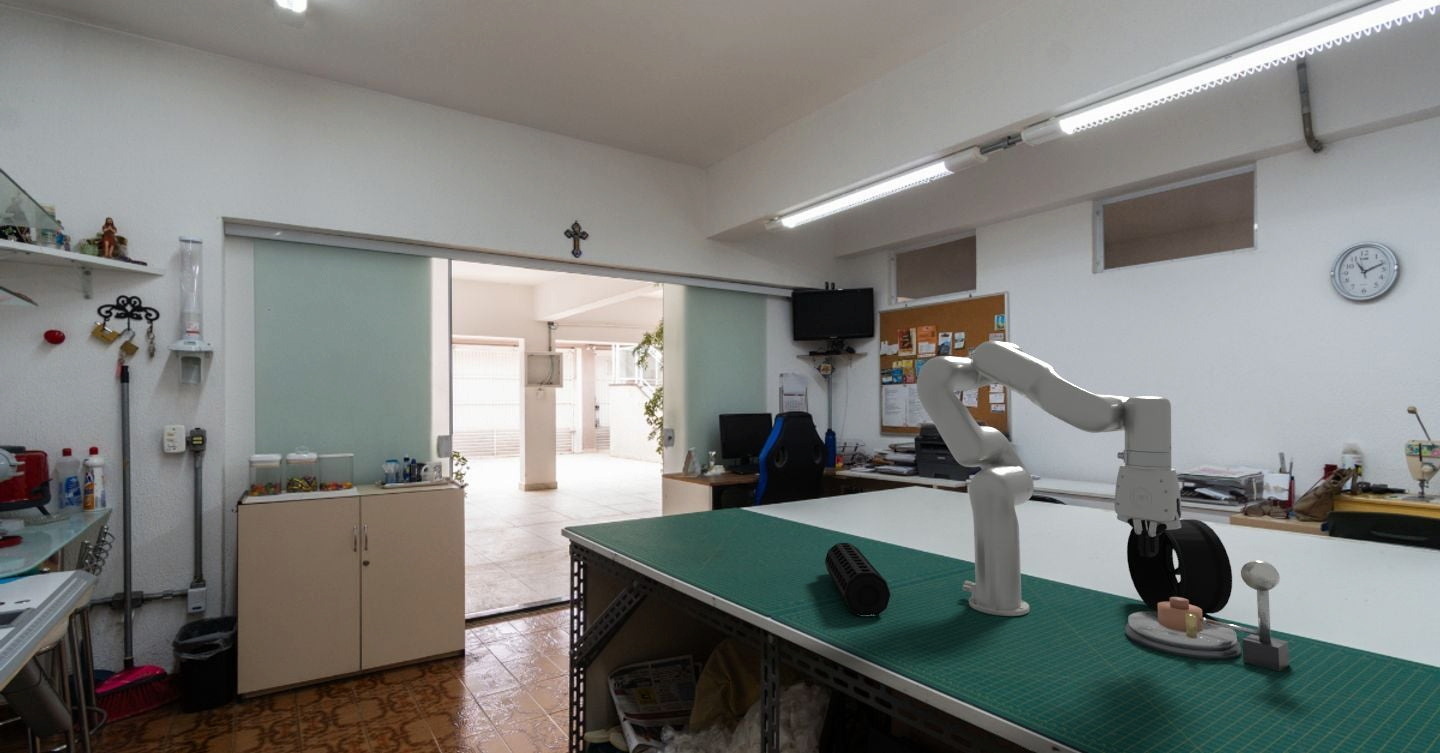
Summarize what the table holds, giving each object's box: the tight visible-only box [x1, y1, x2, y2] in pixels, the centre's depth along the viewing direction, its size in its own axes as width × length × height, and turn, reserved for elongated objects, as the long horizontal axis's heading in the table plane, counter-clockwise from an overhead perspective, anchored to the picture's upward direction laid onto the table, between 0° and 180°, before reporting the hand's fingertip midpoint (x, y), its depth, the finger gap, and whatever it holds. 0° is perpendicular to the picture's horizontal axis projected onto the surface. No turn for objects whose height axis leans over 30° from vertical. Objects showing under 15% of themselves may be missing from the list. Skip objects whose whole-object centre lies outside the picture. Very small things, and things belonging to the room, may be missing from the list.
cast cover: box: [1158, 597, 1203, 632], centre depth 123 cm, size 7×7×5 cm
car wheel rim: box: [1126, 518, 1233, 614], centre depth 141 cm, size 20×10×20 cm, turn 175°
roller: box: [824, 542, 891, 616], centre depth 157 cm, size 38×10×10 cm, turn 179°
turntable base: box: [1125, 622, 1242, 661], centre depth 123 cm, size 18×18×1 cm
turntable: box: [1127, 610, 1238, 650], centre depth 123 cm, size 17×17×6 cm
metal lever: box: [1201, 559, 1290, 673], centre depth 116 cm, size 12×5×18 cm, turn 34°
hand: (1148, 555), depth 123 cm, fingers closed
